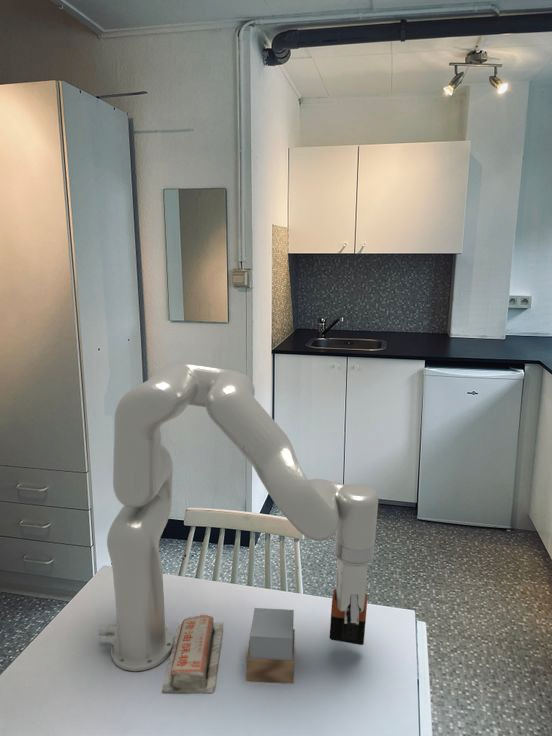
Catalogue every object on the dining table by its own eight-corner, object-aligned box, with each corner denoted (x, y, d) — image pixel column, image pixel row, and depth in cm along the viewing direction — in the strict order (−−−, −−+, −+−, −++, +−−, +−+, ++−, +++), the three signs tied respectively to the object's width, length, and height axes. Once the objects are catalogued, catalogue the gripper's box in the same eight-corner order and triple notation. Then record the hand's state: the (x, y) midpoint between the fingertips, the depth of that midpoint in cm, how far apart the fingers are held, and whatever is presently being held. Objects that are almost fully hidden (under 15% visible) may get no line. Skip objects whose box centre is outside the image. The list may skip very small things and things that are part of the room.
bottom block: (246, 682, 103) (246, 660, 102) (251, 647, 112) (251, 627, 111) (293, 684, 103) (293, 662, 102) (294, 649, 111) (294, 629, 110)
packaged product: (214, 674, 99) (160, 674, 99) (215, 696, 100) (161, 696, 100) (223, 609, 117) (178, 609, 117) (224, 628, 118) (178, 628, 118)
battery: (363, 646, 106) (367, 602, 103) (329, 640, 107) (332, 597, 104) (364, 631, 110) (367, 588, 107) (331, 626, 111) (333, 583, 109)
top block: (250, 658, 102) (250, 636, 101) (254, 628, 110) (254, 607, 109) (291, 660, 102) (292, 638, 101) (293, 630, 110) (293, 609, 109)
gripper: (332, 524, 112) (327, 600, 116) (337, 573, 95) (331, 659, 100) (368, 526, 112) (362, 602, 116) (380, 575, 95) (372, 662, 99)
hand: (348, 627), depth 108 cm, fingers closed on battery, 4 cm apart
